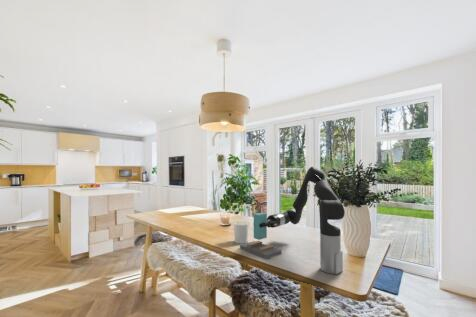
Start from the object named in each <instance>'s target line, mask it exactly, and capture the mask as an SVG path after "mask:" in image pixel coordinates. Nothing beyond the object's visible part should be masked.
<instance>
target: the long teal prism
mask: <svg viewBox="0 0 476 317" xmlns="http://www.w3.org/2000/svg"><path fill="white" fill-rule="evenodd" d="M267 218H268V216H267V213H264V212H257V213H253V223H254V225H253V239H255V240H257V241H261V240H263V239H266V238H267V237H268V235H267V233H268V232H267V231H268V229H267V228H268V227H262V228H260V223H265V222H267Z"/></svg>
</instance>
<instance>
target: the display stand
mask: <svg viewBox="0 0 476 317" xmlns="http://www.w3.org/2000/svg"><path fill="white" fill-rule="evenodd" d="M239 249H240V250H243V251H246V252H249V253H251V254H253V255H256V256H259V257H261V258H264V259H266V260H268V258H269V259H271V258H274V257H276V256H279V255H282V249H279V248H276V247H275V246H274V245H273V244H268V245H267V244H264V243H263V242H262V241H261V240H256V241H255V240H253V241H250V242H247V243H244V244H239Z"/></svg>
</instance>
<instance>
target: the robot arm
mask: <svg viewBox="0 0 476 317" xmlns="http://www.w3.org/2000/svg"><path fill="white" fill-rule="evenodd" d="M315 174H316V175H318V176H319V177H320V178H321V179H322V180H320V179H319V178H318V177H317V176H316V175H315ZM309 182H311V183H313V184H315V185H314V188H313V190H314V193H315V196H316V198H317V199H318V200H319V204H318V205H319V206H318V208H319V209H318V210H319V211H318V212H319V236H320V237H319V240H320V241H319V246H320V249H319V253H320V254H319V255H320V256H319V259H320V260H319V262H320V264H319V265H320V266H319V267H320V268H319V269H320V270H321V271H322V272H324V273H326V274H332V275H336V276H337V275H339V274H340V273H342V272H343V271H344V270H343V268H344V267H343V266H344V265H343V264H344V262H343V254H344V253H343V250H341V248H342V245H341V241H342V240H341V238H342V237H341V229H340V228H339V227H338V226H336V225H334V224H330V223H329V222H328V221H330V220H332V221H333V220H334V221H335V220H336V221H339V220H342V219H343V218H344V217H345V213H346V212H345V206H344V205H343V203H342V201H341V200H340V199H339V197H338V196H337V195H336V193H335V192H334V190H333V188H332V187H331V185H330V183H329V181H328V179H327V175H326V173H325V172H324V171H323V170H321V169H318V168H317V167H314V166H311V167H309V168H308V169H307V171H306V173H305V175H304V178H303V181H302V183H301V186H300V189H299V191H298V193H297V195H296V197H295V199H294V201H293V203H292V208H293V209H294V210H293V209H289V208H288V209H287V210H286V211H284V212H282V213H276V214H275V213H274V214H270V215H268V216H267V222H265V223H260V228H262V227H267V228H277V227H281V226H283V225H286V224H287V225H288V224H289V223H291V224H293V225H297V224H299V223H300V221H301V218H302V213H303V211H304V208H305V206H306V204H307V202H308V200H309V198H308V197H309V196H308V185H309ZM253 226H254V222H253Z"/></svg>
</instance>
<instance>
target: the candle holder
mask: <svg viewBox="0 0 476 317" xmlns="http://www.w3.org/2000/svg"><path fill="white" fill-rule="evenodd" d="M233 226H234V227H233V228H234V229H233V230H234V243H235V244H239V245H242V244H245V243H249V242H248V241H249V226H250V224H249V222H247V221H235V222H234V223H233Z"/></svg>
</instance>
